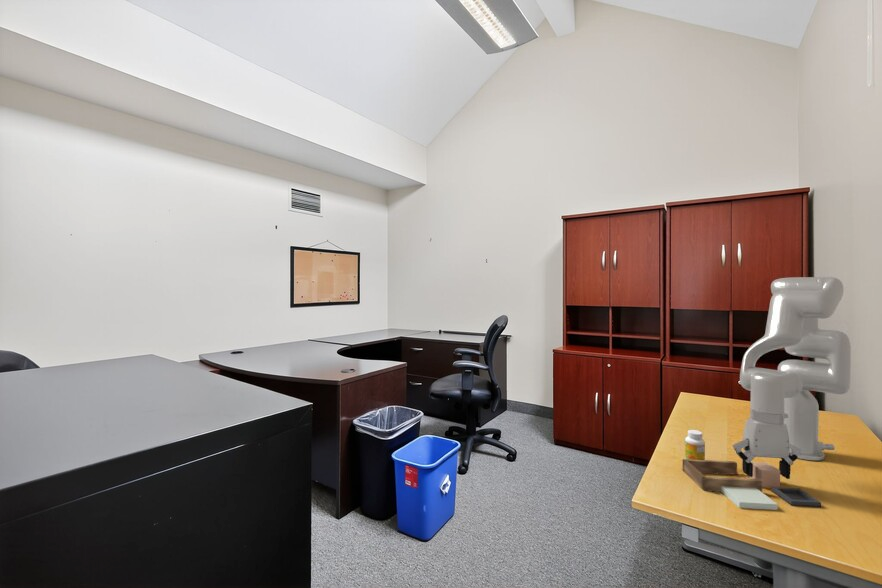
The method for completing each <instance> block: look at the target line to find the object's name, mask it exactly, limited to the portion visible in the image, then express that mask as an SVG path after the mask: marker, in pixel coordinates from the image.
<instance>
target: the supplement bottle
mask: <svg viewBox="0 0 882 588" xmlns="http://www.w3.org/2000/svg"><path fill="white" fill-rule="evenodd" d="M684 440H685V441H684V442H685V443H684V446H685V447H684V451H685V452H684V459H687V460H706V457H705V456H706V442H705V440H704V439H703V432H702V431H700V430H696V429H689V430H687V436H685V439H684Z"/></svg>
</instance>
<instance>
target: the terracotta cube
mask: <svg viewBox="0 0 882 588" xmlns="http://www.w3.org/2000/svg"><path fill="white" fill-rule="evenodd" d="M751 463H752V464H753V476H752V477H749V476H748V479H760V480H761V481H762V488H772V487H779V488H781V475H780V470H779V468H776V467H775V466H774V465H772V464H769V463H768V462H763V461H761V462H760V461H759V462H755V461H754V462H752V461H751Z"/></svg>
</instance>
